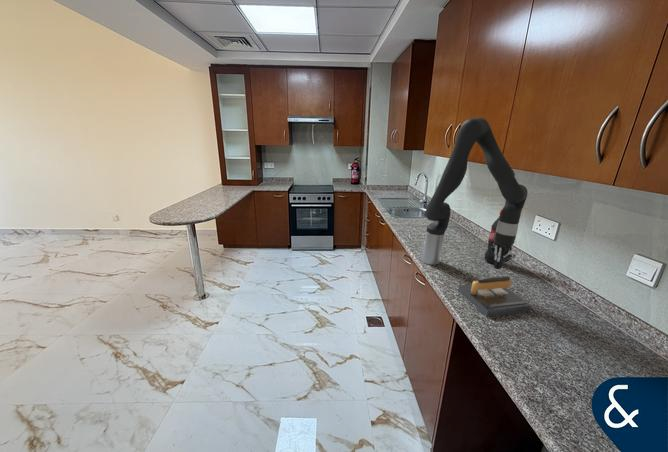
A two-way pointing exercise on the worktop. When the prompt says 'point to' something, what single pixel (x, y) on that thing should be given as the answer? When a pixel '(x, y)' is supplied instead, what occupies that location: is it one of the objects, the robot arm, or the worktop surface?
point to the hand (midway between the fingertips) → (497, 268)
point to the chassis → (495, 301)
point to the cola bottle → (491, 242)
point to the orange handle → (490, 284)
